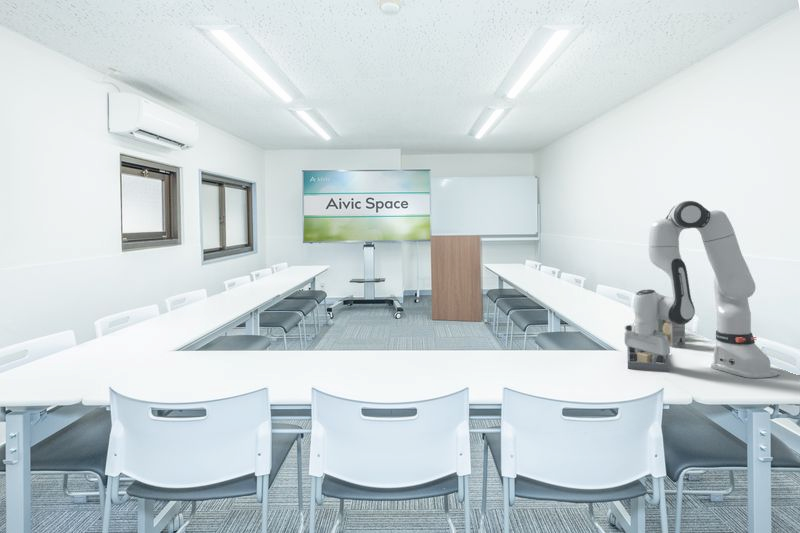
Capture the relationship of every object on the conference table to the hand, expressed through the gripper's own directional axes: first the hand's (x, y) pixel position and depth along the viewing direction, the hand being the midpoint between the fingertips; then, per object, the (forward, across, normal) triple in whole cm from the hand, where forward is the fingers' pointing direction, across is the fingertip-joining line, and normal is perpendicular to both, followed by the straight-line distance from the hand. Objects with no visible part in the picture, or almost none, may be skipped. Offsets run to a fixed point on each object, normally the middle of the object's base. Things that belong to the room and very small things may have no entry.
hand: (646, 361), depth 197 cm
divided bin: (+2, +5, -5) cm, 7 cm away
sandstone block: (+2, 0, 0) cm, 2 cm away
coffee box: (+2, +18, -36) cm, 41 cm away
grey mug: (+2, +42, -53) cm, 68 cm away
